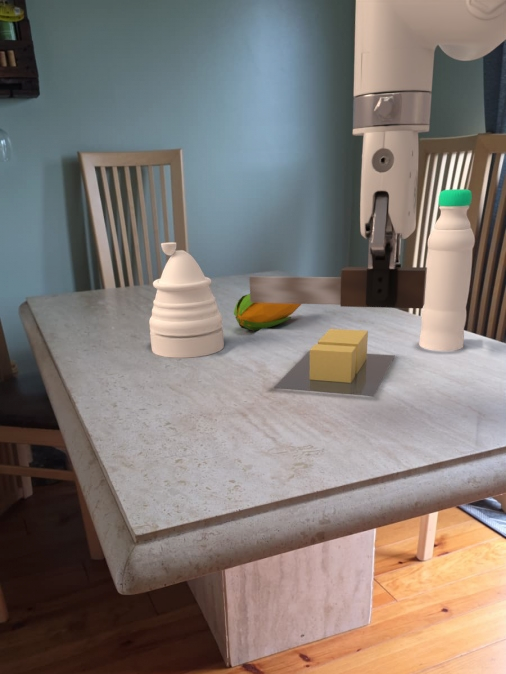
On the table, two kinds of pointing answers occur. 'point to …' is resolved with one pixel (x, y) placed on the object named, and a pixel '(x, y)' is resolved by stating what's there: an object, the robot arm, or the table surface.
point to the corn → (262, 313)
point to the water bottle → (448, 274)
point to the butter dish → (362, 383)
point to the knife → (338, 288)
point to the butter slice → (332, 363)
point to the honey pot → (184, 310)
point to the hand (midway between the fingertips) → (382, 302)
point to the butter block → (348, 342)
